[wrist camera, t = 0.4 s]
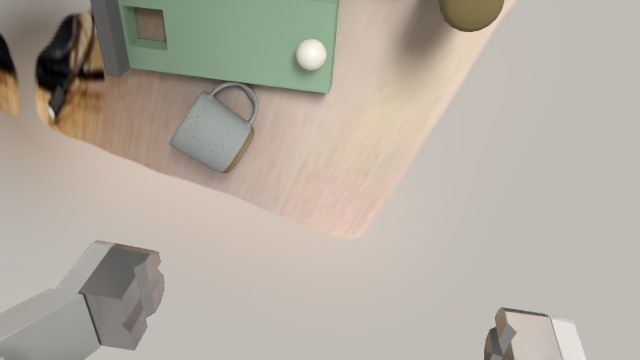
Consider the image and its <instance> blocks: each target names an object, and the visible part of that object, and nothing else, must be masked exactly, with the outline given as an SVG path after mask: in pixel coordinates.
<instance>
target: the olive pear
mask: <svg viewBox="0 0 640 360" xmlns="http://www.w3.org/2000/svg"><path fill="white" fill-rule="evenodd" d="M439 1H440V11H441V13H442V16H443V18H444V20H445V21H446V22H447V23H448V24H449V25H450V26H451V27H453V28H455V29H457V30H459V31H464V32H473V31H479V30H481V29H483V28H485V27H487V26H489V25H490V24H491V23H492V22H493V21H494V20H496V18H497V17H498V15H499V14H500V12H501V10H502V7H503V3H504V0H439Z"/></svg>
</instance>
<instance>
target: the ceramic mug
mask: <svg viewBox="0 0 640 360" xmlns="http://www.w3.org/2000/svg"><path fill="white" fill-rule="evenodd" d="M234 85H238V86H240V87H241V88H242V89H243V90H244V91H246V92H247V94H248V96H249V98H251V99H252V101H253V103H254V112H253V114H252V117H251V118H250V119H249V121H246V120H245V119H243V118H242V117H241V116H239V115H237V114H236V113H234V112H233V111H232V110H230V109H229V108H228V107H226V106H225V105H224V104H222V103H221V102H220V101H219V100H217V99H216V98H215V97H214V94H215V93H216V92H218V91H219V90H220V89H222V88H224V87H226V86H234ZM257 112H258V99H257V96H256V94H255V92H254V91H253V90H252V89H251V88H250V87H249V86H248V85H247V84H245V83H243V82H236V81H227V82H224V83H222V84H220V85H219V86H217V87H216V88H215V89H214V90H213V91H212V92H211V93H207V92H206V91H203V92H202V93H201V94H200V96H199V97H198V98H197V100H196V101H195V103H194V105H193V106H192V107H191V109H190V111H189V112H188V114H187V115H186V117H185V118H184V120H183V121H182V123H181V125H180V126H179V128H178V129H177V131H176V132H175V134H174V136H173V137H172V139H171V140H170V142H169V145H170V146H172V147H174V148H176V149H178V150H179V151H181V152H183V153H185V154H186V155H188V156H190V157H192V158H193V159H195V160H197V161H199V162H201V163H203V164H204V165H206V166H208V167H210V168H211V169H213V170H216V171H218V172H221V173H228V172H230V171H231V170H232V169H233V168H234V167H235V166H236V164H237V163H238V162H239V160H240V159H241V157H242V156H243V154H244V153H245V151H246V149H247V148H248V146H249V144H250V142H251V140H252V138H253V136H254V130H253V127H252V126H251V124H252V122H253V121H254V119H255V117H256V115H257Z"/></svg>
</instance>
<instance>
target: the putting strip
mask: <svg viewBox="0 0 640 360" xmlns="http://www.w3.org/2000/svg"><path fill="white" fill-rule="evenodd" d="M90 1H91V6H92V10H93V15H94V20H95V24H96V29H97V34H98V38H99V43H100V48H101V52H102V57H103V62H104V66H105V71H106V75H111V76H119V77H120V76H121V75H122V74H123V73H125V72H126V71H127V70H128V69H129V68H135V69H143V70H151V71H158V72H166V73H174V74H182V75H189V76H197V77H205V78H212V79H220V80H228V81H236V82H243V83H251V84H259V85H267V86H274V87H282V88H290V89H298V90H305V91H313V92H321V93H328V94H329V91H330V88H331V85H332V76H333V64H334V52H335V41H336V29H337V17H338V5H339V0H90ZM134 7H141V8H149V9H158V10H163V17H164V25H165V33H166V41H167V42H164V41H156V40H148V39H139V34H138V28H137V22H136V16H135V10H134ZM307 39H316V40H318V41H320V42H321V43H322V44H323V45H324V47H325V49H326V54H327V56H326V60H325V62H324V64H323V65H322V66H321V67H320V68H318V69H316V70H307V69H304V68H303V67H301V66H300V64H299V63H298V61H297V58H296V51H297V48H298V46H299V45H300V43H301V42H303V41H304V40H307Z"/></svg>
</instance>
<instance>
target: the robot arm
mask: <svg viewBox="0 0 640 360" xmlns="http://www.w3.org/2000/svg"><path fill="white" fill-rule="evenodd" d="M160 262H161V261H160V256H159V252H156V251H153V250H148V249H143V248H138V247H132V246H127V245H122V244H116V243H110V242H105V241H99V240H97V241H95V242H94V243H92V244H91V245H90V246H89V247H88V248H87V250H86V251H85V252H84V253H83V255H82V256H81V257H80V258H79V260H78V261H77V263H76V264H75V265H74V266H73V267H72V269H71V270H70V271H69V272H68V274H67V275H66V276H65V277H64V279H63V280H62V281H61V282H60V284H59V285H58V286H57V288H56V289H47V290H45V291H43V292H41V293H39V294H38V295H36V296H34V297H32V298H30V299H28V300H26V301H24V302H22V303H20V304H18V305H16V306H14V307H12V308H10V309H8V310H6V311H4V312H2V313H1V314H0V360H84V359H85V358H87V357H88V356H89V355H91V354H92V353H93V352H95V351H96V350H97V349H98V348H100V345H103V346H109V347H116V348H122V349H128V350H135V349H136V347H137V345H138V343H139V341H140V340H141V338H142V336H143V334H144V332H145V331H146V329H147V324H146V319H145V318H147V317H149V316H150V315H152V314H153V313H155V312H156V310H157V308H158V306H159V304H160V302H161V299H162V296H163V292H164V277H163V274H162V273H161V272H160V271H159V270H158V269H157V267H158V266H159V264H160ZM495 321H496V327H494V328H492V329H490V330H489V333H488V335H487V338H486V342H485V349H484V360H586V357H585V354H584V351H583V348H582V345H581V342H580V339H579V336H578V333H577V330H576V327H575V324H574V322H573V321H572V320H571V318H566V317H560V316H554V315H545V314H542V313H536V312H529V311H523V310H516V309H509V308H500V309H499V310H498V312H497V314H496V316H495Z"/></svg>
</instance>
